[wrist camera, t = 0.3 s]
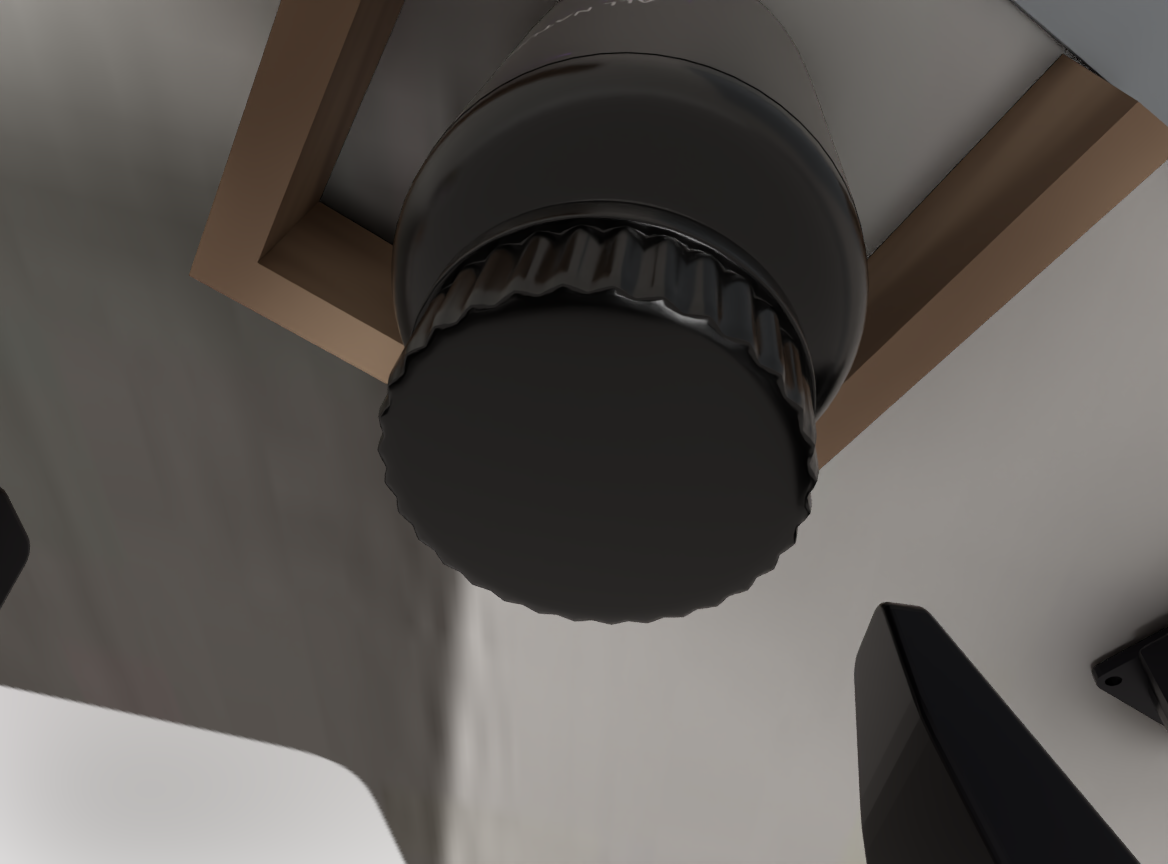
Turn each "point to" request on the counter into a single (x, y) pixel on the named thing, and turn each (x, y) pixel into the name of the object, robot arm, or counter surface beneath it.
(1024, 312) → the counter surface
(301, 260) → the walnut frame
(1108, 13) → the grey mat
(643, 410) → the supplement bottle
